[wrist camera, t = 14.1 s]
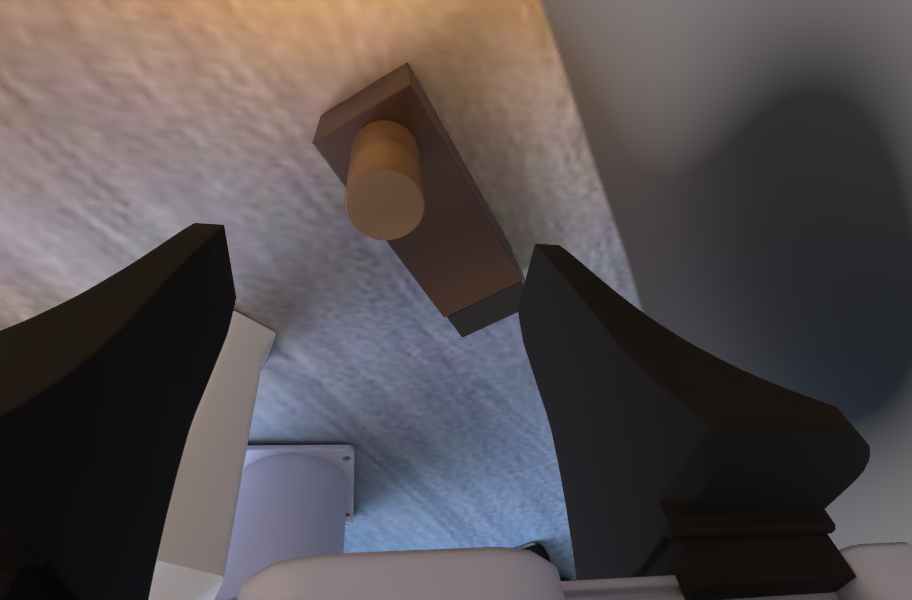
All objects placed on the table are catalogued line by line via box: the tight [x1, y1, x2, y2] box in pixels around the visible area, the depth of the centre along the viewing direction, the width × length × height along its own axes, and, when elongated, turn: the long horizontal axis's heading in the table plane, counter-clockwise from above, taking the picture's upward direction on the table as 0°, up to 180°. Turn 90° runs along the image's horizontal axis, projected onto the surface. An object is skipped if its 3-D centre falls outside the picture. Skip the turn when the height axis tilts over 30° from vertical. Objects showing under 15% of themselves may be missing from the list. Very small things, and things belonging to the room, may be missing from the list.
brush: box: [313, 63, 525, 337], centre depth 20 cm, size 11×4×7 cm, turn 28°
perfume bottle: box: [148, 311, 276, 600], centre depth 21 cm, size 5×4×15 cm
